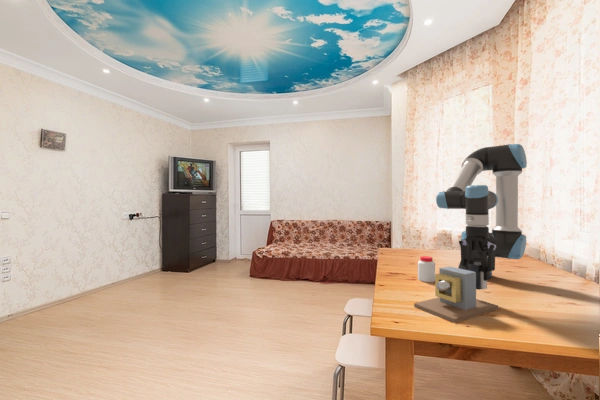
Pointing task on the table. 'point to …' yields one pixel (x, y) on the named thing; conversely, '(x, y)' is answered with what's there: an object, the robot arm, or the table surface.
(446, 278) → the frame
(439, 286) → the shaft
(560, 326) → the table surface
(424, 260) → the pill bottle
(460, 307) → the bearing block
